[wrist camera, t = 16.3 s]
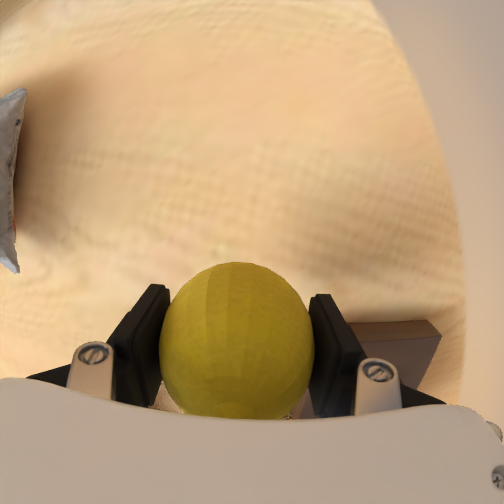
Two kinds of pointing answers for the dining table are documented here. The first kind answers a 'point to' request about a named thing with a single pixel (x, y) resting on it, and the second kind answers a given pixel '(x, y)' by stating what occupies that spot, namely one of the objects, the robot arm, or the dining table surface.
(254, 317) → the lemon
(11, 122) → the packaged food
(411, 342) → the block
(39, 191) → the dining table surface
